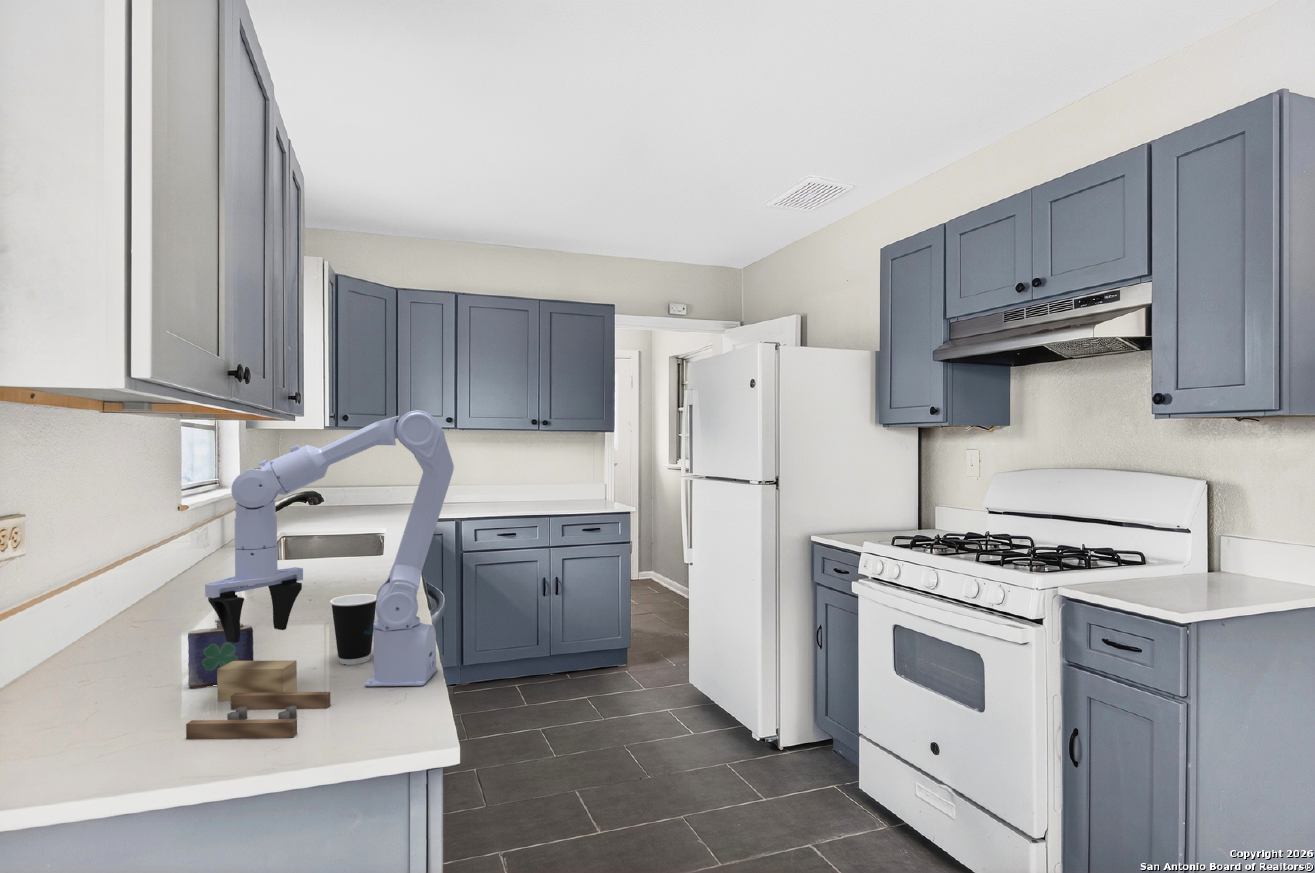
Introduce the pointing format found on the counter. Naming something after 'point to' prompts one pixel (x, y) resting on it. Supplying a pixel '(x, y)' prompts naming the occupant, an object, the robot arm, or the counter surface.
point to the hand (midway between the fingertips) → (257, 635)
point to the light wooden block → (256, 677)
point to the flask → (215, 653)
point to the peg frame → (259, 727)
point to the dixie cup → (354, 626)
